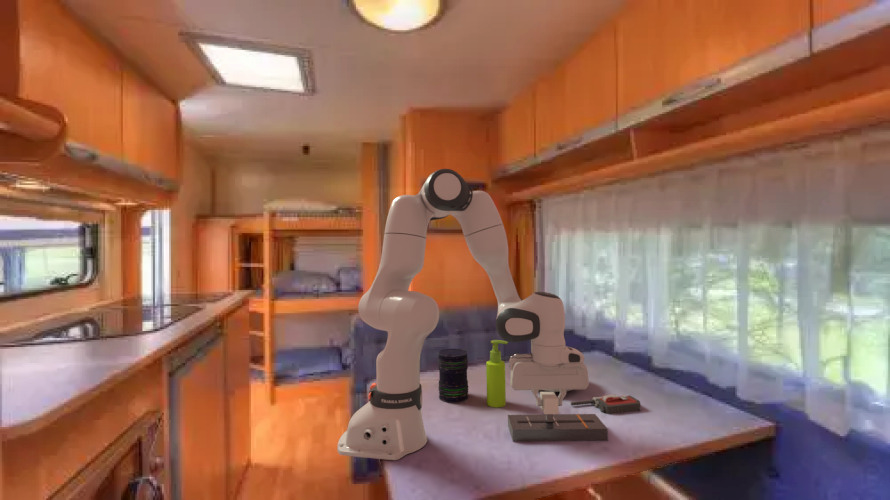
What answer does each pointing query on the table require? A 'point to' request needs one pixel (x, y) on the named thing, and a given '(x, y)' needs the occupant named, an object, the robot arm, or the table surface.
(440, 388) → the black ridged cylinder
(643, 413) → the table surface
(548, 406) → the fader knob
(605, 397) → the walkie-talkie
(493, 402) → the soap dispenser
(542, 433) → the fader panel
